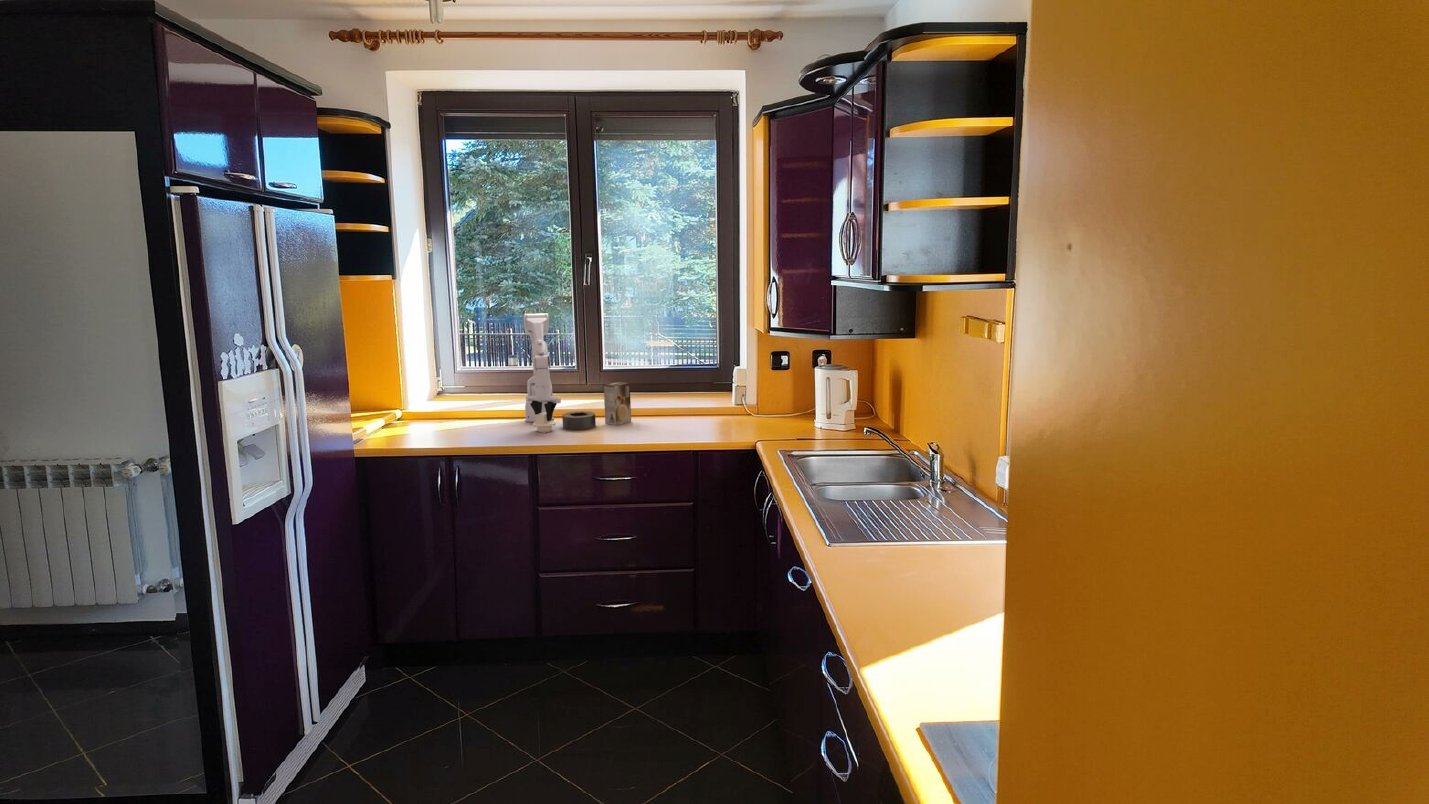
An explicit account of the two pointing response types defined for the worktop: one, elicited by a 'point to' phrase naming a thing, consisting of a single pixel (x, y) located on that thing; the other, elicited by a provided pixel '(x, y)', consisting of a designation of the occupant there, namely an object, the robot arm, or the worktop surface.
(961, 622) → the worktop surface
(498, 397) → the worktop surface
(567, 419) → the dark grey thick ring
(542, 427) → the cap
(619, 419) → the coffee box
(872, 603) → the worktop surface
